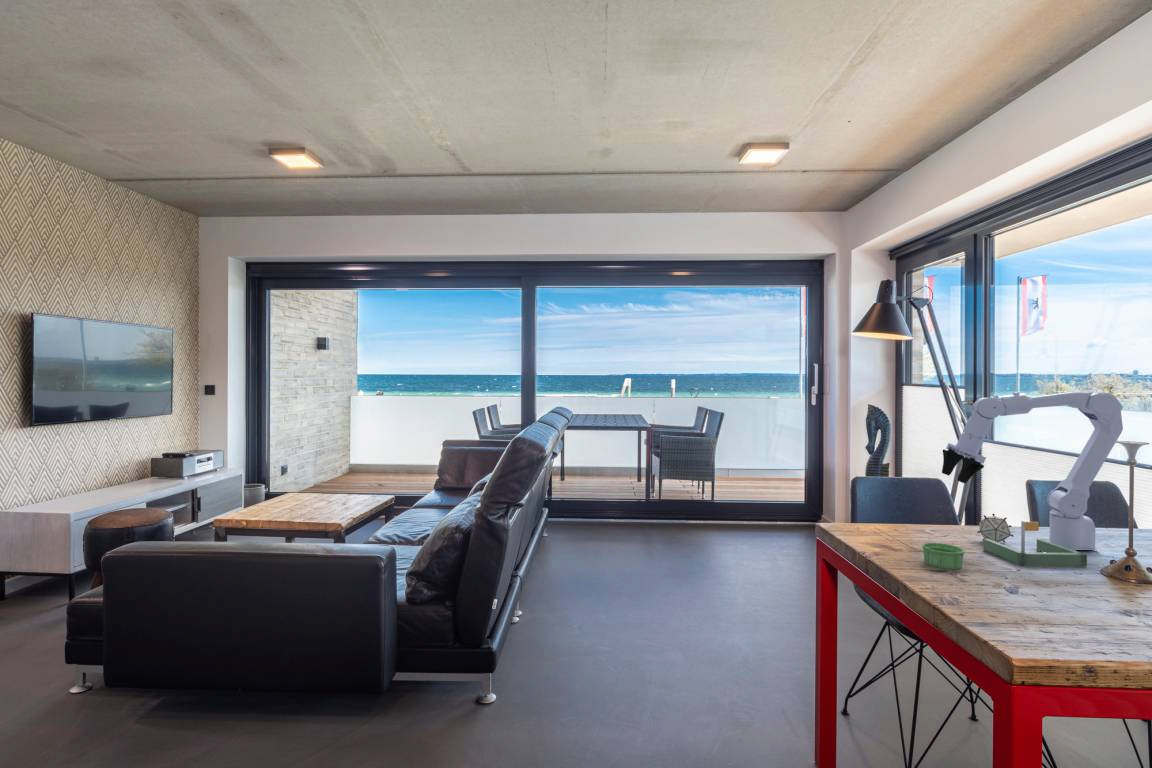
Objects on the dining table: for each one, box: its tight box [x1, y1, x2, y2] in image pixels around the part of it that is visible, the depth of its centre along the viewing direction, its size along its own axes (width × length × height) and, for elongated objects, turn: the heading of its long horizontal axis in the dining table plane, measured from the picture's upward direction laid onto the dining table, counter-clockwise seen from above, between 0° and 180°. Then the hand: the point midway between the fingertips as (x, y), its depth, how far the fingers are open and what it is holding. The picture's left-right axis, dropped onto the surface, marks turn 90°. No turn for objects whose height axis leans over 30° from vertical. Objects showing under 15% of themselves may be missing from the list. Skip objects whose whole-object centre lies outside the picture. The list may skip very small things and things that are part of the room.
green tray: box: [982, 520, 1088, 567], centre depth 150 cm, size 16×14×11 cm
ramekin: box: [921, 542, 965, 570], centre depth 145 cm, size 9×9×4 cm
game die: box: [975, 513, 1015, 543], centre depth 164 cm, size 9×8×10 cm
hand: (953, 478), depth 171 cm, fingers open, 7 cm apart
